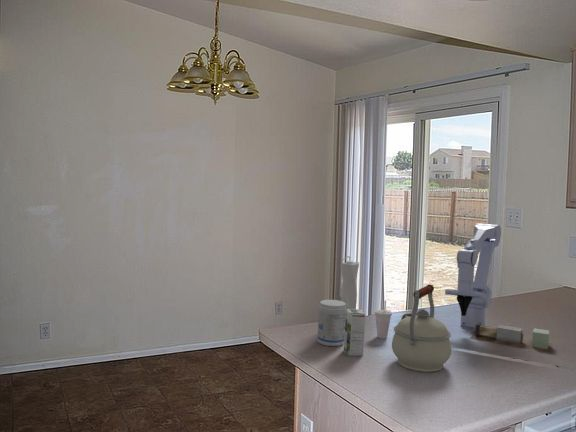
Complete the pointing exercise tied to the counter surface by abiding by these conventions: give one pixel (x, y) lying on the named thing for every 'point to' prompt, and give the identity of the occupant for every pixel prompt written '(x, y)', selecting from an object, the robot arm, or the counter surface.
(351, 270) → the white bottle
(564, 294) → the counter surface
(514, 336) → the metal sleeve
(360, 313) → the syrup box
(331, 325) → the supplement tub
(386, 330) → the smoothie
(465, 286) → the robot arm
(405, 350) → the kettle
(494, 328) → the slip rod
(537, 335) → the socket block
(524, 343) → the walnut board
